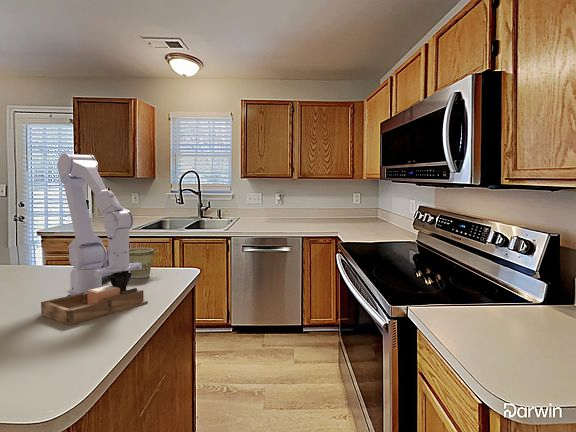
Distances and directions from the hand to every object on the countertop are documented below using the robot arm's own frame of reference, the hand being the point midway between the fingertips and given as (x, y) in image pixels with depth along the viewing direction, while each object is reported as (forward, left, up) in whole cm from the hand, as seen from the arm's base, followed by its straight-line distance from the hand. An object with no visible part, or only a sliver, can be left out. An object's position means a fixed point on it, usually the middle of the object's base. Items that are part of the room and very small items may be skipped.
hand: (119, 297), depth 131 cm
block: (0, -5, -2) cm, 5 cm away
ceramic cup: (-23, +27, -2) cm, 35 cm away
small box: (-29, +12, -2) cm, 31 cm away
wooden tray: (0, -7, -2) cm, 7 cm away
